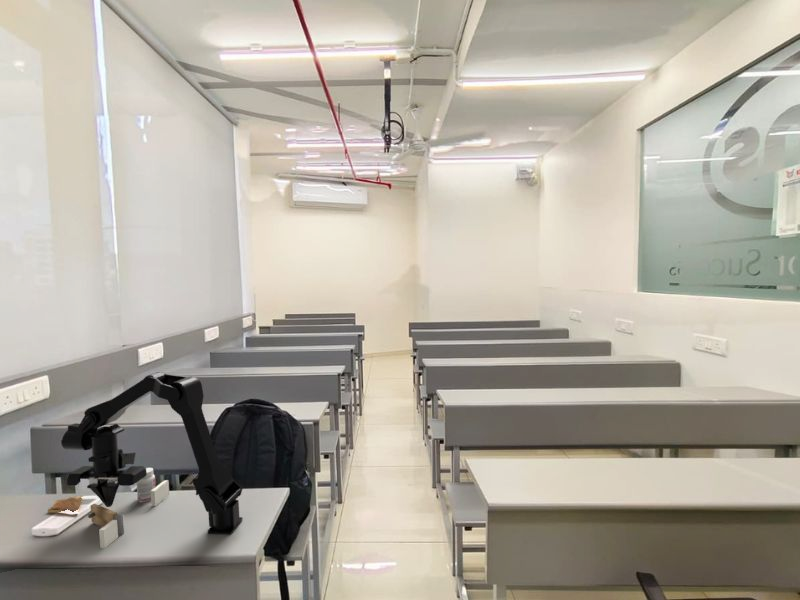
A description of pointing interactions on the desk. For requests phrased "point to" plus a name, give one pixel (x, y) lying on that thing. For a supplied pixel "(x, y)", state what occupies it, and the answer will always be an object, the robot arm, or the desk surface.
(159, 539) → the desk surface
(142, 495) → the pill bottle
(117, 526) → the pair of white blocks
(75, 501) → the shard
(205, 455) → the robot arm
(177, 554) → the desk surface
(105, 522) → the wooden plank
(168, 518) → the desk surface
